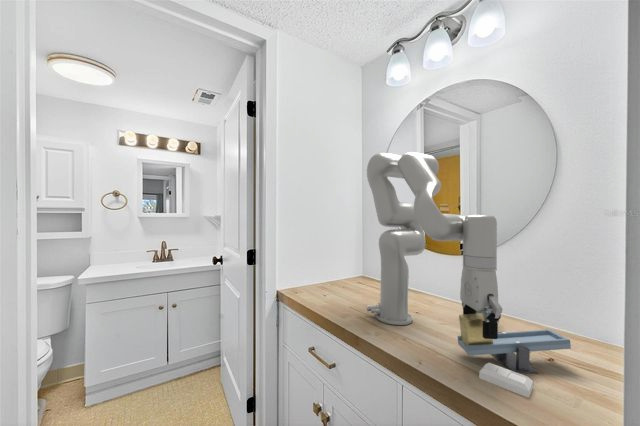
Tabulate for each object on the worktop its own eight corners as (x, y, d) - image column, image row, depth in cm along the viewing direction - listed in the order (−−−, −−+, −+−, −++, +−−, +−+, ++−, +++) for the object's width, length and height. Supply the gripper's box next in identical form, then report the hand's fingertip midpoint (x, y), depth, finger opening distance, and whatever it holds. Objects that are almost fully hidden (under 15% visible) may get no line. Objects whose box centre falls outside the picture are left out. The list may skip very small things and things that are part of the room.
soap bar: (485, 371, 65) (485, 360, 65) (532, 389, 58) (533, 377, 58) (479, 379, 61) (479, 368, 62) (528, 400, 55) (528, 386, 55)
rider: (468, 348, 68) (465, 320, 68) (461, 341, 71) (458, 314, 72) (493, 346, 67) (490, 318, 68) (484, 339, 71) (482, 313, 71)
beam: (470, 356, 66) (469, 347, 66) (457, 343, 73) (456, 334, 73) (572, 349, 65) (571, 340, 65) (549, 336, 72) (548, 328, 72)
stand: (511, 372, 64) (512, 349, 64) (487, 351, 74) (488, 331, 74) (538, 373, 64) (538, 350, 64) (510, 352, 74) (510, 332, 74)
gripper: (450, 257, 78) (449, 317, 78) (482, 268, 61) (482, 345, 61) (476, 258, 78) (476, 318, 78) (517, 269, 61) (517, 346, 60)
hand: (479, 330), depth 69 cm, fingers open, 9 cm apart
